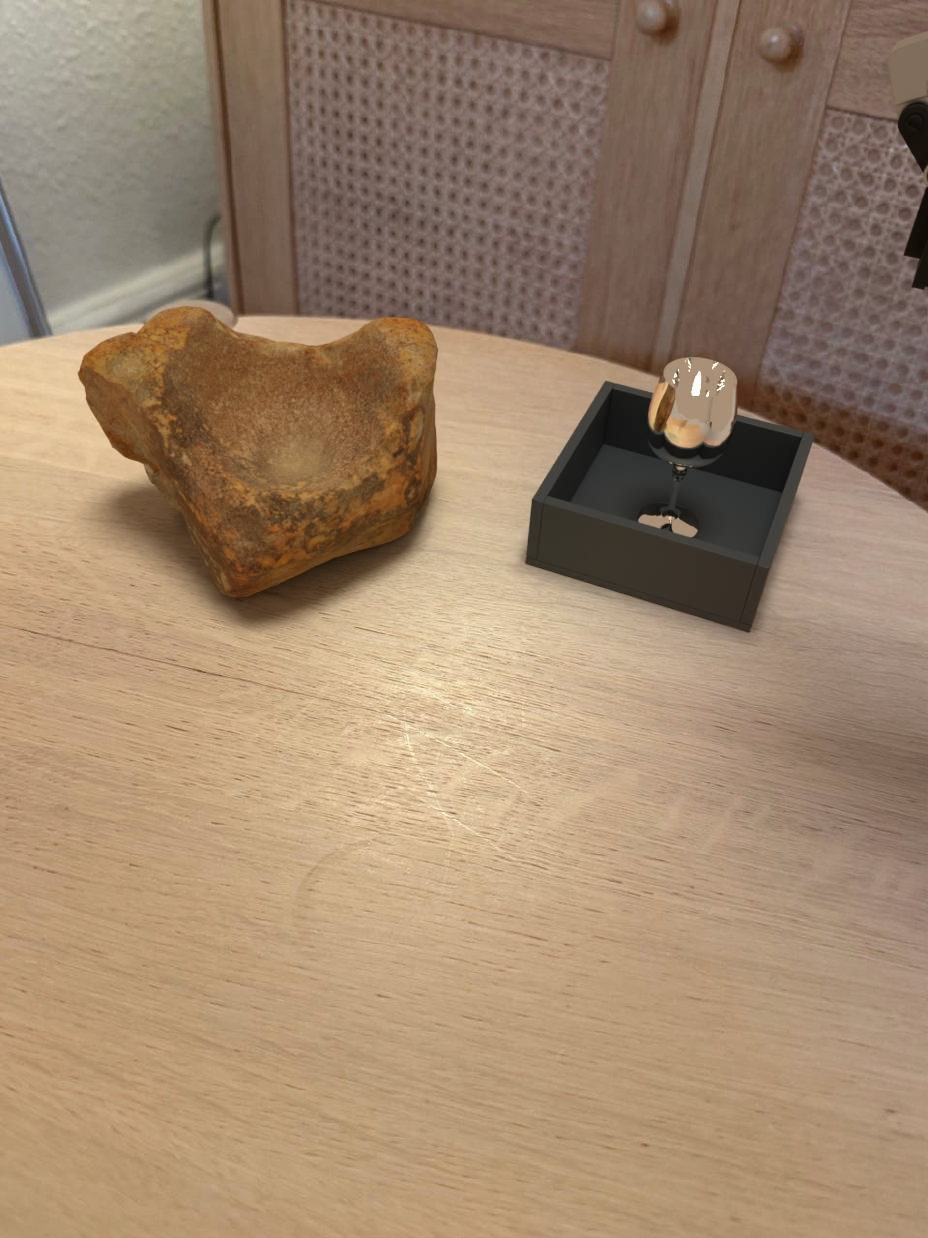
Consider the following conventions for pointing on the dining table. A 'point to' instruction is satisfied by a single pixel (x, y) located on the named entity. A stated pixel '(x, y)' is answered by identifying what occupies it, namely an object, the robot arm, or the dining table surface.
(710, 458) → the wineglass
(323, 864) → the dining table surface
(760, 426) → the dish tub
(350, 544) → the rough brown rock
